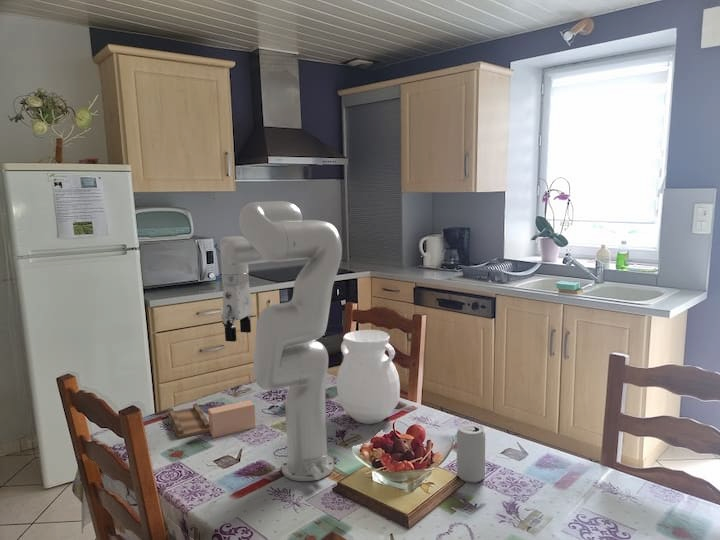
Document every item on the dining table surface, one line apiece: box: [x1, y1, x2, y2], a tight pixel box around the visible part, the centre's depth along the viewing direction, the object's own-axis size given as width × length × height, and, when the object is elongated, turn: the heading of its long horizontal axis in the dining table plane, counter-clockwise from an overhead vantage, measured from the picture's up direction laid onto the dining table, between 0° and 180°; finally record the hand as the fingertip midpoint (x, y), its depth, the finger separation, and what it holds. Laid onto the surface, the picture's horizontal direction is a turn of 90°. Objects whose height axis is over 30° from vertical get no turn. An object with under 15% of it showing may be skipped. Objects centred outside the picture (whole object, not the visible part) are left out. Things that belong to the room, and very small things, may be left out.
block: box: [207, 399, 257, 438], centre depth 151 cm, size 4×12×7 cm, turn 119°
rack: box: [167, 403, 210, 440], centre depth 156 cm, size 18×9×2 cm, turn 28°
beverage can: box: [456, 422, 486, 484], centre depth 123 cm, size 6×6×12 cm
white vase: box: [336, 329, 401, 425], centre depth 156 cm, size 19×18×25 cm
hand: (238, 336), depth 157 cm, fingers open, 9 cm apart
